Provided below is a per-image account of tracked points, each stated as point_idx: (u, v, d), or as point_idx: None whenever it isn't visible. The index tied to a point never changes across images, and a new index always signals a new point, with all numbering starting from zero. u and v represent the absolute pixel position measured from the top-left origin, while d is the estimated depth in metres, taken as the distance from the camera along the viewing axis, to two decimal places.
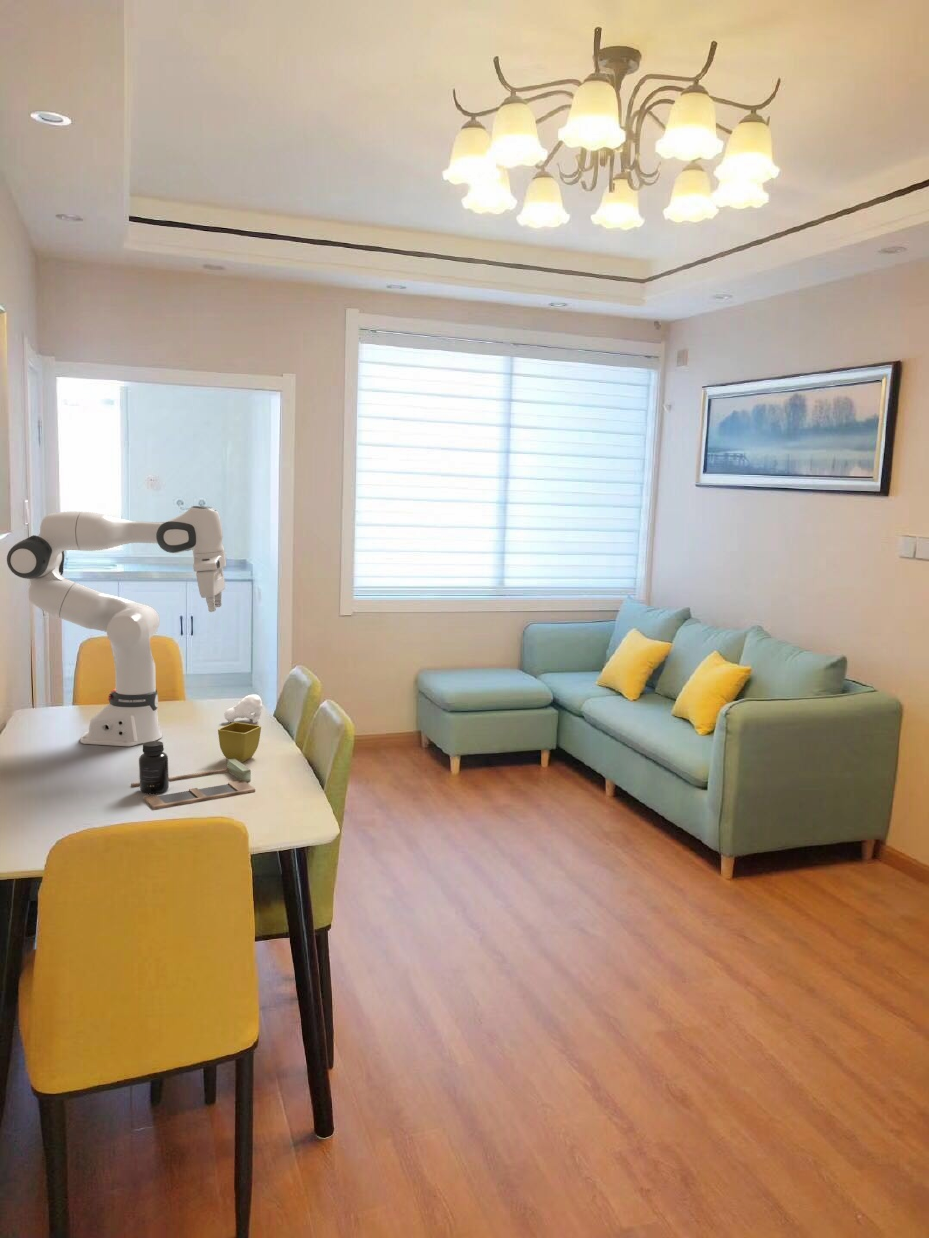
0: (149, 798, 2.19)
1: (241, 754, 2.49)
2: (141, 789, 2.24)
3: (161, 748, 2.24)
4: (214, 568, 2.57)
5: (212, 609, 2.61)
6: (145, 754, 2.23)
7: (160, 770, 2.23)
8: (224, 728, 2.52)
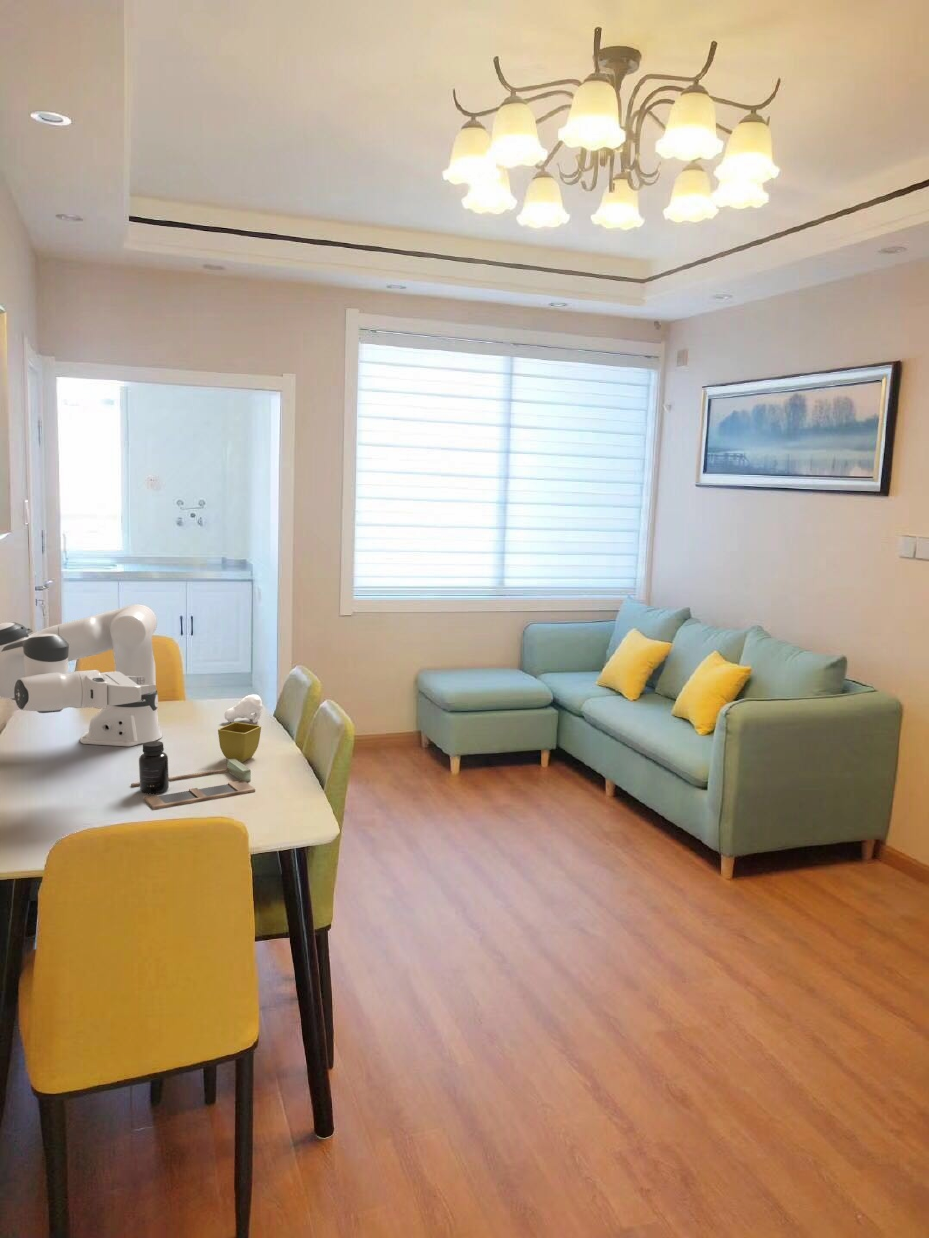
0: (149, 798, 2.19)
1: (241, 754, 2.49)
2: (141, 789, 2.24)
3: (161, 748, 2.24)
4: (105, 684, 2.13)
5: (153, 687, 2.22)
6: (145, 754, 2.23)
7: (160, 770, 2.23)
8: (224, 728, 2.52)
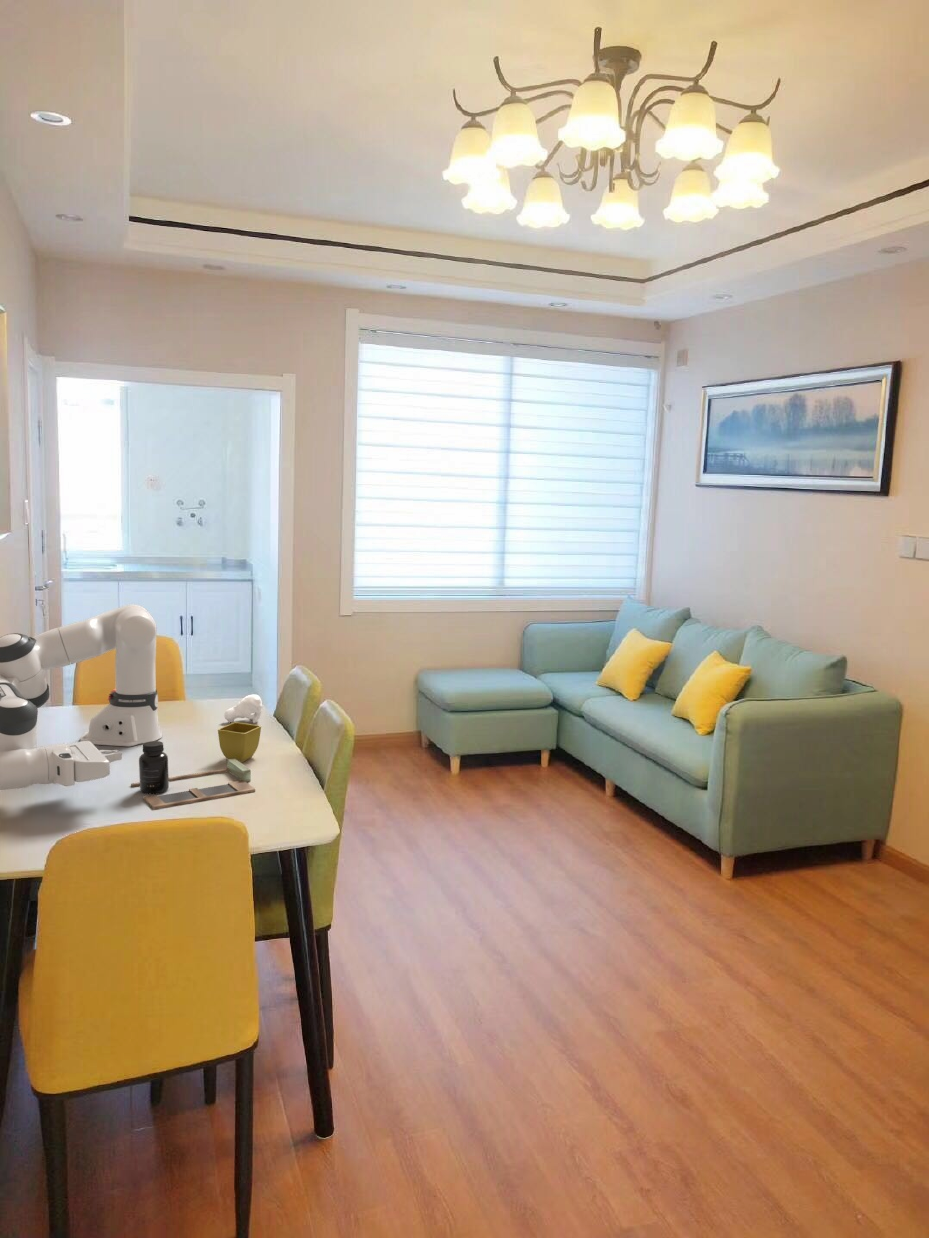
0: (149, 798, 2.19)
1: (241, 754, 2.49)
2: (141, 789, 2.24)
3: (161, 748, 2.24)
4: (71, 760, 2.06)
5: (118, 755, 2.19)
6: (145, 754, 2.23)
7: (160, 770, 2.23)
8: (224, 728, 2.52)
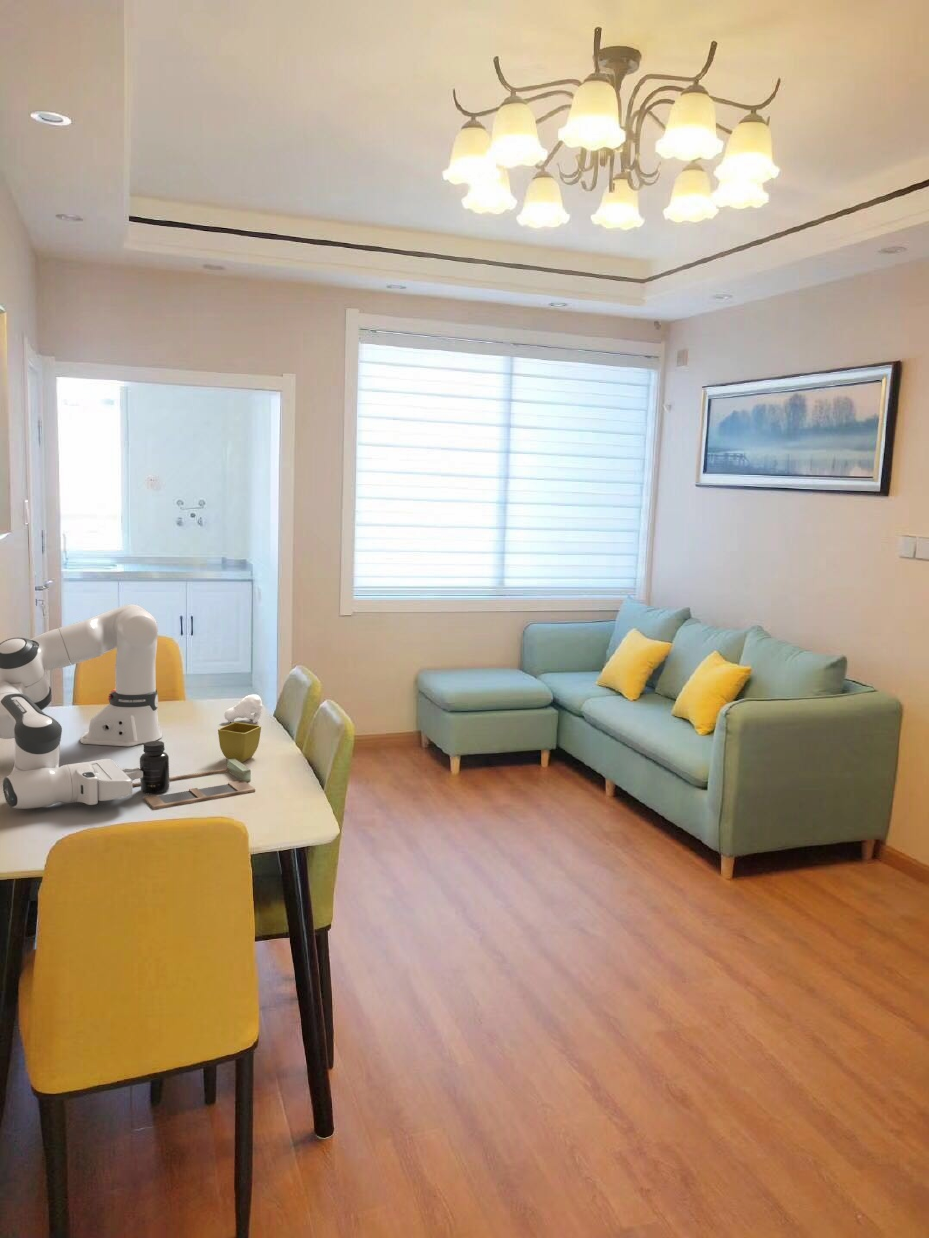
0: (149, 798, 2.19)
1: (241, 754, 2.49)
2: (142, 789, 2.24)
3: (162, 748, 2.24)
4: (95, 780, 2.09)
5: (140, 773, 2.22)
6: (146, 754, 2.23)
7: (161, 770, 2.24)
8: (224, 728, 2.52)
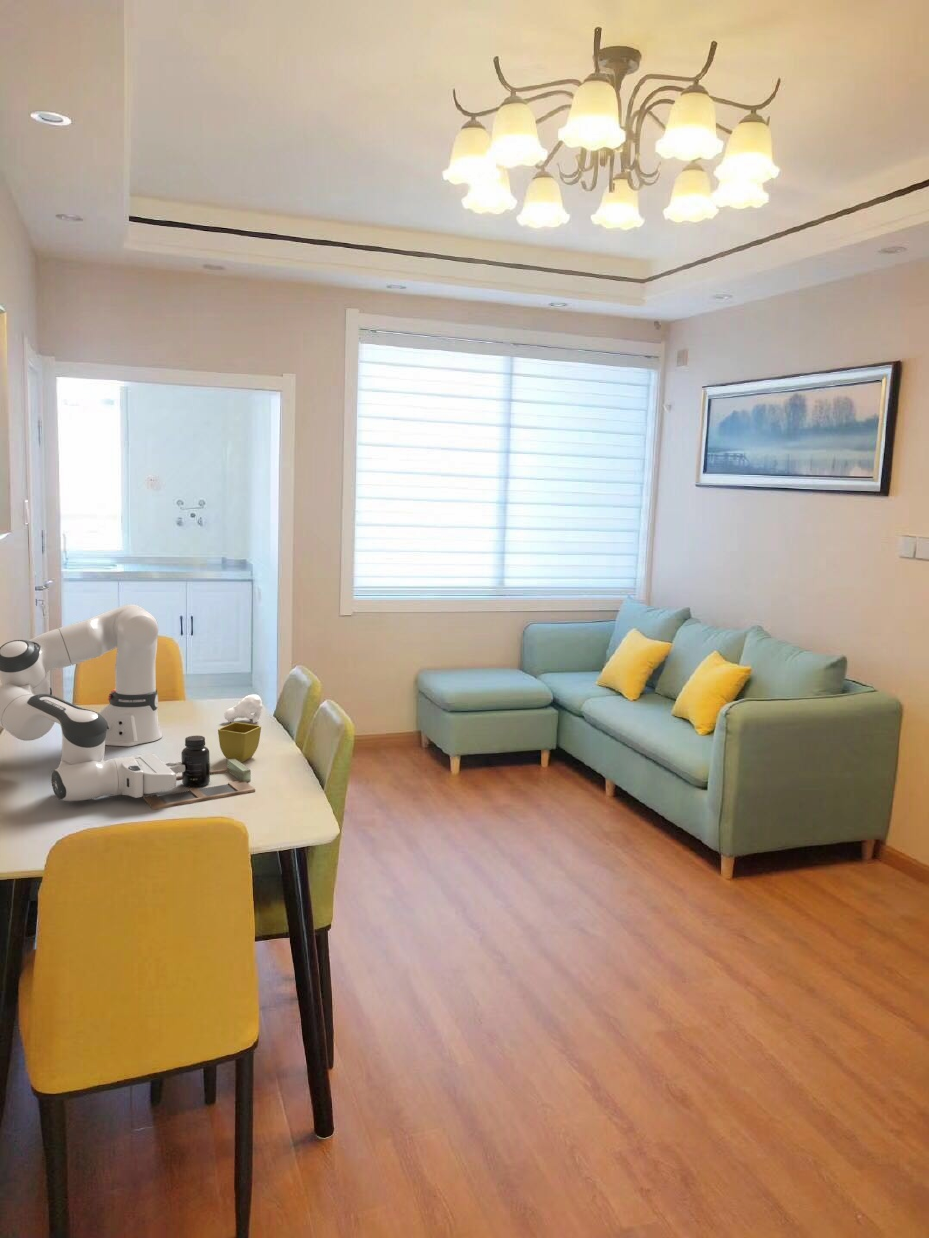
0: (149, 798, 2.19)
1: (241, 754, 2.49)
2: (184, 782, 2.30)
3: (203, 742, 2.30)
4: (141, 773, 2.15)
5: (182, 767, 2.27)
6: (188, 748, 2.29)
7: (203, 763, 2.29)
8: (224, 728, 2.52)
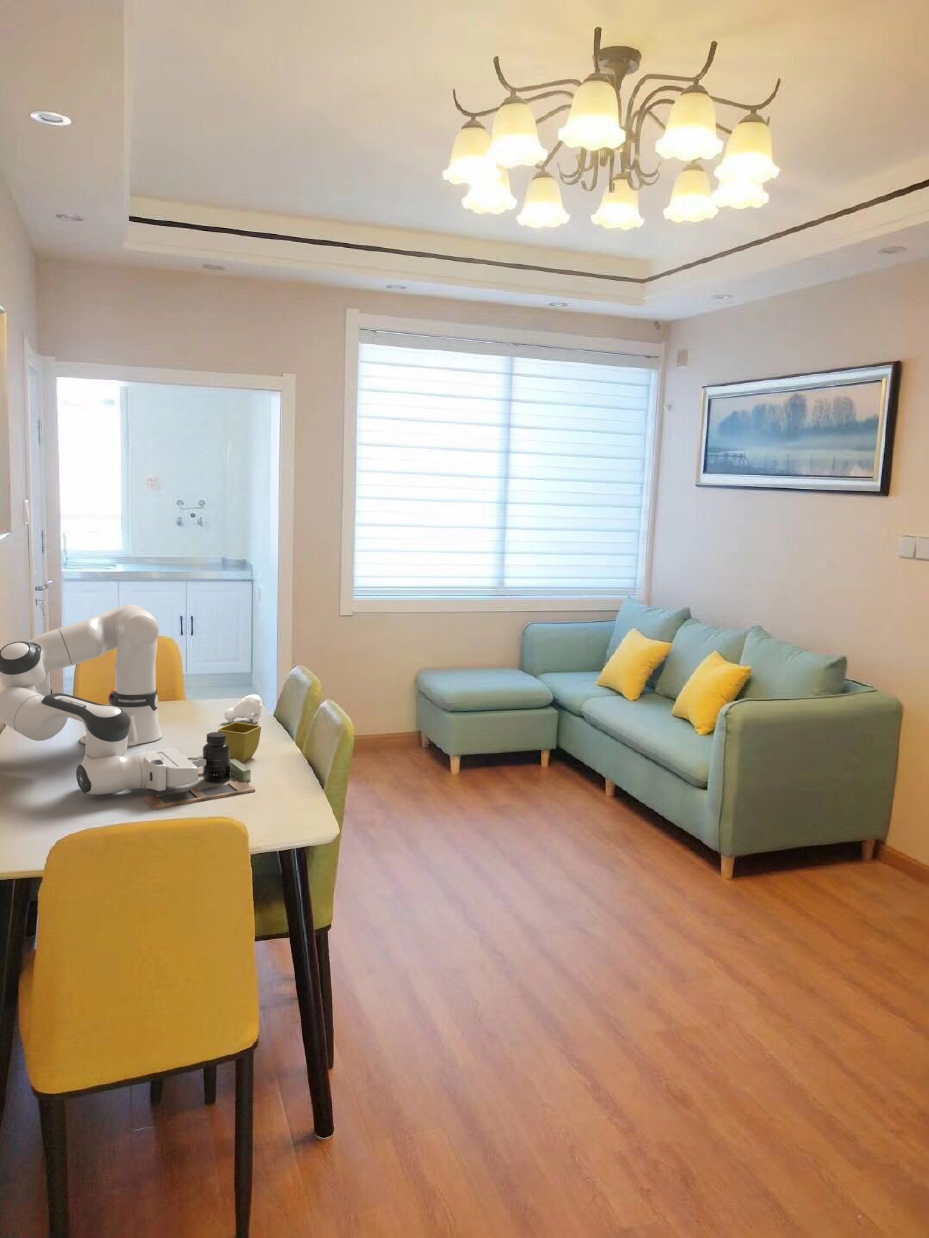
0: (149, 798, 2.19)
1: (241, 754, 2.49)
2: (205, 778, 2.34)
3: (224, 738, 2.34)
4: (164, 767, 2.18)
5: (203, 761, 2.31)
6: (209, 744, 2.33)
7: (223, 759, 2.33)
8: (224, 728, 2.52)
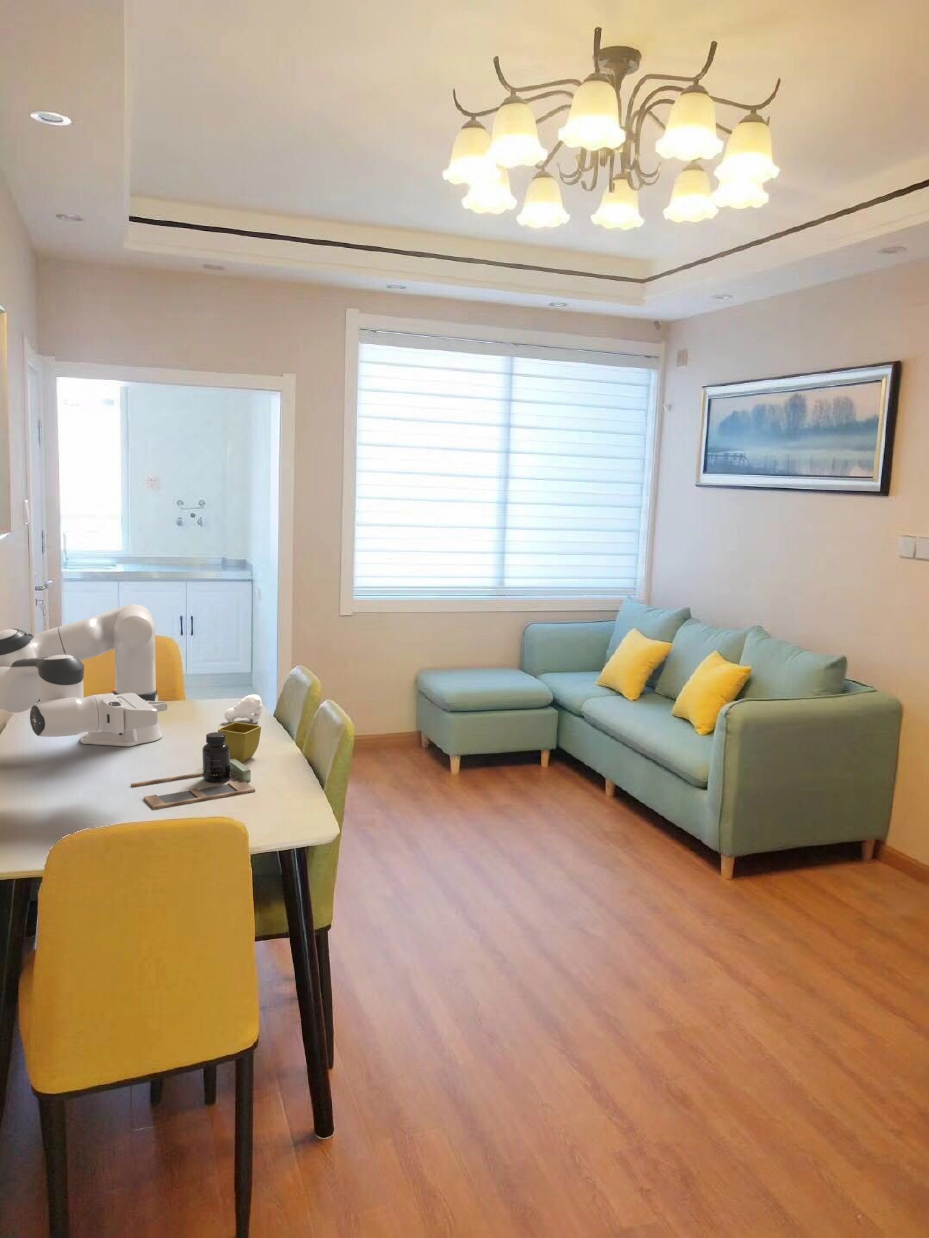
0: (149, 798, 2.19)
1: (241, 754, 2.49)
2: (204, 778, 2.34)
3: (224, 739, 2.34)
4: (121, 708, 2.11)
5: (164, 706, 2.24)
6: (209, 744, 2.33)
7: (223, 760, 2.33)
8: (224, 728, 2.52)
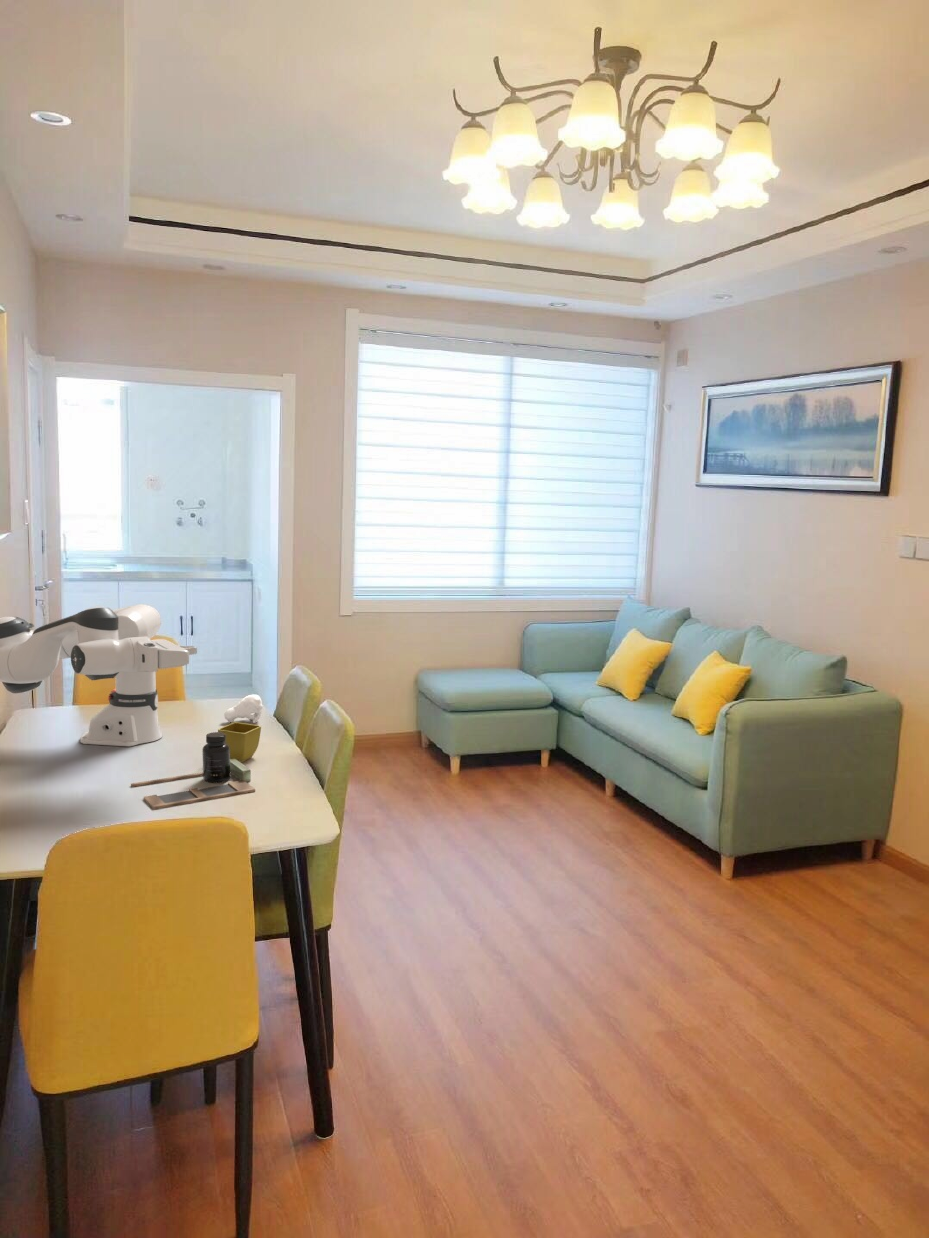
0: (149, 798, 2.19)
1: (241, 754, 2.49)
2: (204, 778, 2.34)
3: (224, 739, 2.34)
4: (156, 648, 2.26)
5: (194, 650, 2.39)
6: (209, 744, 2.33)
7: (223, 760, 2.33)
8: (224, 728, 2.52)
